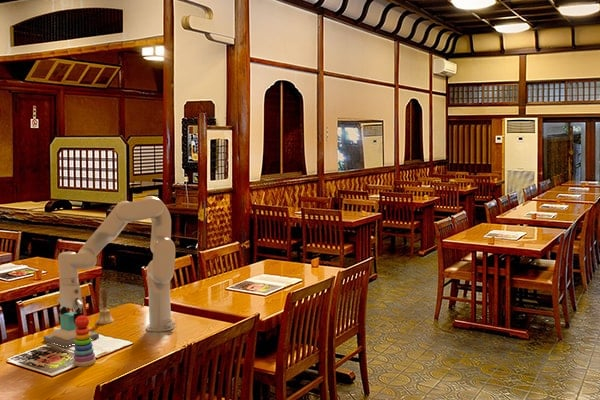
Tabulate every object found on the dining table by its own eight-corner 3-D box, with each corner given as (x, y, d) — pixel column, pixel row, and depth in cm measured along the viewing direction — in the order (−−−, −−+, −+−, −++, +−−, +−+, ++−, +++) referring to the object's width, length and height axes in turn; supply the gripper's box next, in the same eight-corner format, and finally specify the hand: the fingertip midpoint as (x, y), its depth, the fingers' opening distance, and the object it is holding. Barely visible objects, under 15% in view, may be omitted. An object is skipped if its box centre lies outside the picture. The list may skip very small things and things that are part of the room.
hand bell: (117, 319, 292) (115, 286, 291) (109, 324, 284) (108, 290, 283) (100, 318, 293) (99, 286, 292) (92, 323, 285) (91, 290, 284)
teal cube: (81, 327, 262) (80, 313, 261) (68, 331, 257) (68, 317, 257) (73, 325, 266) (72, 311, 265) (60, 328, 261) (60, 314, 260)
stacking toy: (76, 360, 236) (74, 312, 234) (97, 359, 237) (96, 312, 235) (70, 367, 228) (68, 318, 227) (92, 366, 229) (90, 317, 227)
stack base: (98, 338, 263) (98, 326, 263) (65, 348, 251) (64, 336, 250) (77, 331, 273) (76, 320, 273) (43, 340, 260) (43, 329, 260)
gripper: (88, 281, 257) (90, 321, 259) (65, 277, 268) (67, 315, 269) (72, 285, 251) (74, 326, 253) (49, 280, 262) (51, 319, 263)
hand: (71, 320), depth 261 cm, fingers open, 9 cm apart
